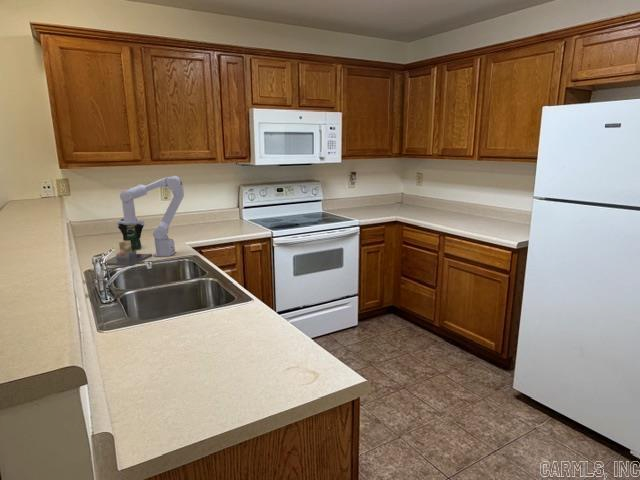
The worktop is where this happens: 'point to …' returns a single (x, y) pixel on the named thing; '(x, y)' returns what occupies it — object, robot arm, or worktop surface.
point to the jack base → (128, 259)
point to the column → (125, 247)
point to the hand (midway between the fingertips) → (132, 237)
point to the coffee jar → (132, 237)
